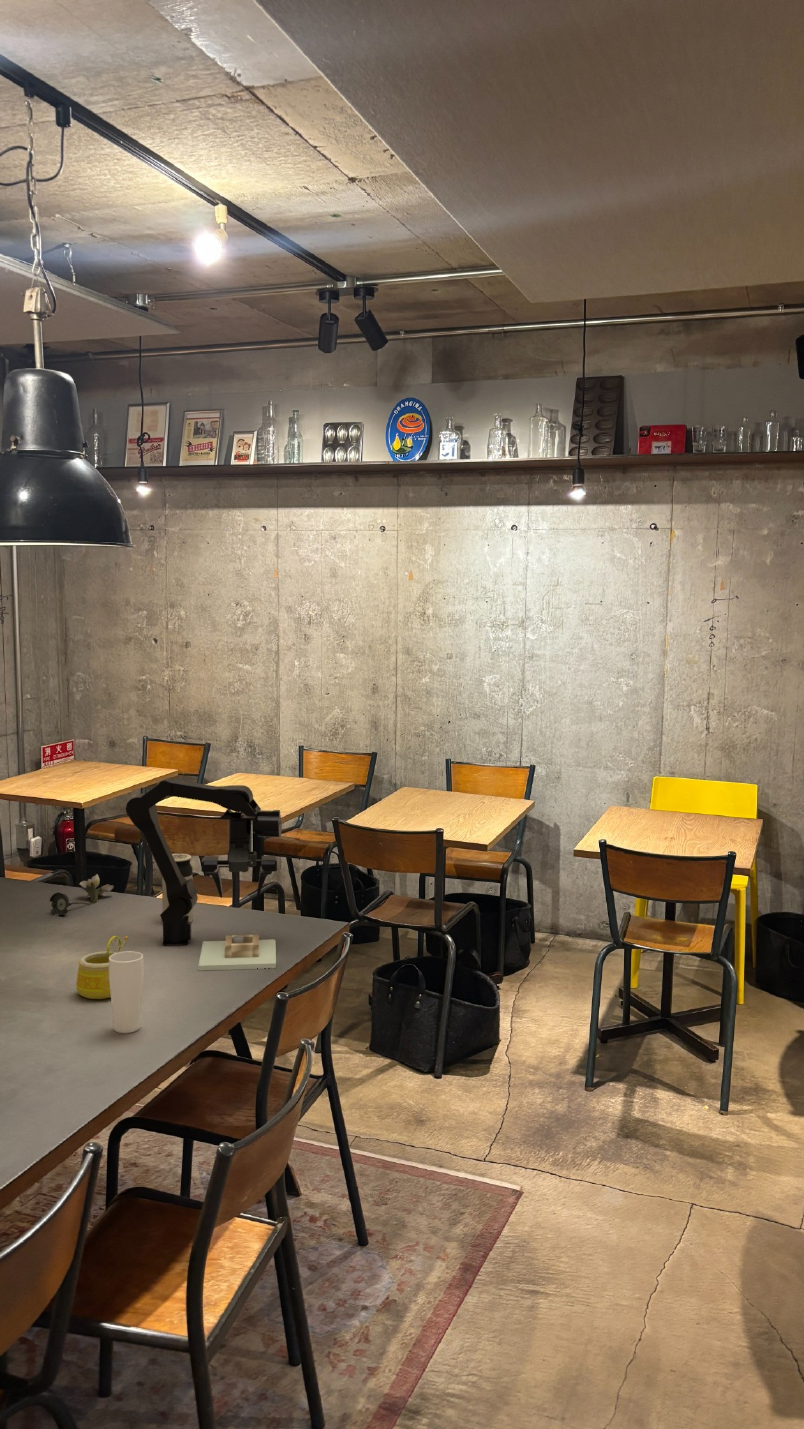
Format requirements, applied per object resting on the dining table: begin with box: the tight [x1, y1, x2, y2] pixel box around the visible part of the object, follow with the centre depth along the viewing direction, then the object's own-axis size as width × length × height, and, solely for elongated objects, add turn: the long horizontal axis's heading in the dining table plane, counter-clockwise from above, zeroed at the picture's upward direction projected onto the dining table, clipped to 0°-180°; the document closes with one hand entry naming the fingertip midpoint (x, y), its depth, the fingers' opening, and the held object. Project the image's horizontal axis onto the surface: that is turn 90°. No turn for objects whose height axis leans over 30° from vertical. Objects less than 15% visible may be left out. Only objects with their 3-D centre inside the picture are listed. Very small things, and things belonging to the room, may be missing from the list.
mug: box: [76, 935, 129, 1000], centre depth 226 cm, size 13×11×12 cm
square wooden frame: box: [224, 934, 260, 958], centre depth 251 cm, size 8×8×3 cm
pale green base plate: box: [197, 934, 277, 971], centre depth 251 cm, size 18×18×5 cm
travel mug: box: [161, 853, 194, 923], centre depth 278 cm, size 8×8×18 cm
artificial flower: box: [44, 873, 114, 916], centre depth 293 cm, size 9×22×10 cm, turn 157°
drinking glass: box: [109, 950, 145, 1034], centre depth 206 cm, size 7×7×15 cm
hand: (239, 897), depth 260 cm, fingers open, 9 cm apart
